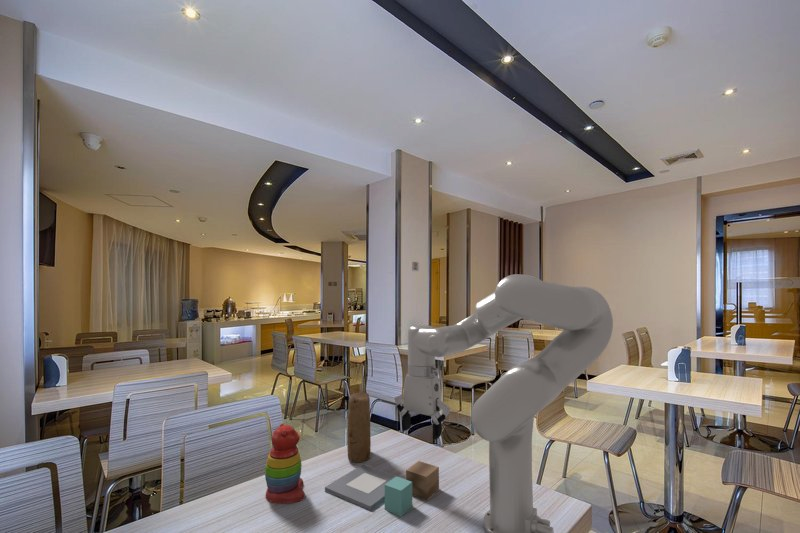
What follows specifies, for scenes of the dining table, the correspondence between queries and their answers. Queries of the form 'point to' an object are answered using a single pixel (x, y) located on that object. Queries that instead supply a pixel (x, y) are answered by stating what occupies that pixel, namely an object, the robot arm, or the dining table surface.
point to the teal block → (398, 495)
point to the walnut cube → (423, 479)
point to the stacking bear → (284, 467)
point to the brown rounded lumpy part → (359, 427)
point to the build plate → (362, 486)
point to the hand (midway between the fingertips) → (421, 433)
